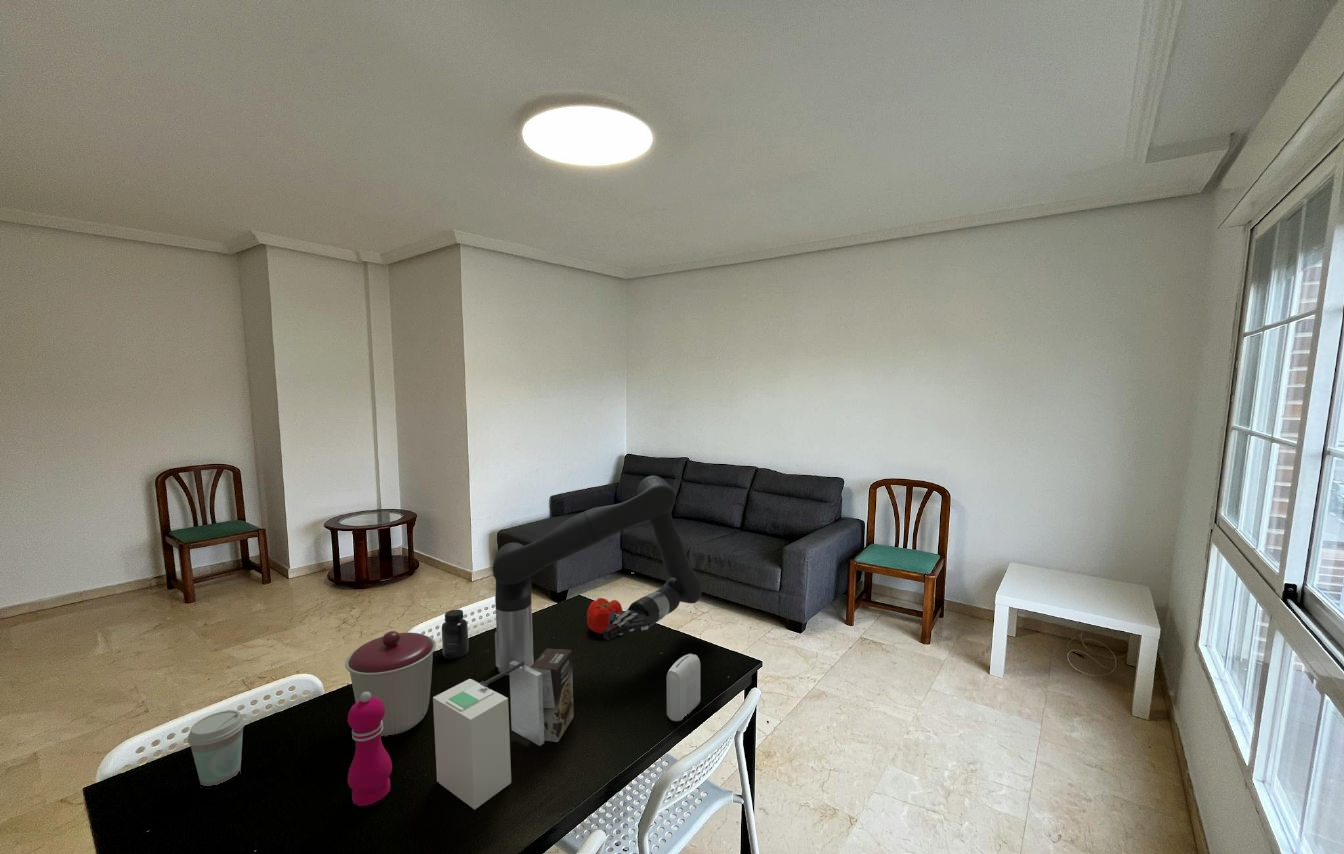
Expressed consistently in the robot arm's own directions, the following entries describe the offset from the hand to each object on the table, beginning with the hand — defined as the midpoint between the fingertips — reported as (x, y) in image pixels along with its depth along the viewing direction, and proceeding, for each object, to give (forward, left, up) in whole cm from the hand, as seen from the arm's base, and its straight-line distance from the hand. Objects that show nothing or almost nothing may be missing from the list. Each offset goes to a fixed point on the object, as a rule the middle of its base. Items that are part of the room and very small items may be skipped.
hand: (605, 635), depth 134 cm
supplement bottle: (-48, -10, -15) cm, 51 cm away
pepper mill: (-13, -50, -15) cm, 54 cm away
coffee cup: (-41, -65, -15) cm, 79 cm away
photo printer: (+20, +5, -15) cm, 25 cm away
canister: (-31, -36, -15) cm, 50 cm away
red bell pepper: (-23, +25, -15) cm, 37 cm away
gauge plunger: (0, -29, -12) cm, 32 cm away
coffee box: (0, -17, -15) cm, 23 cm away
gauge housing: (0, -37, -14) cm, 40 cm away
